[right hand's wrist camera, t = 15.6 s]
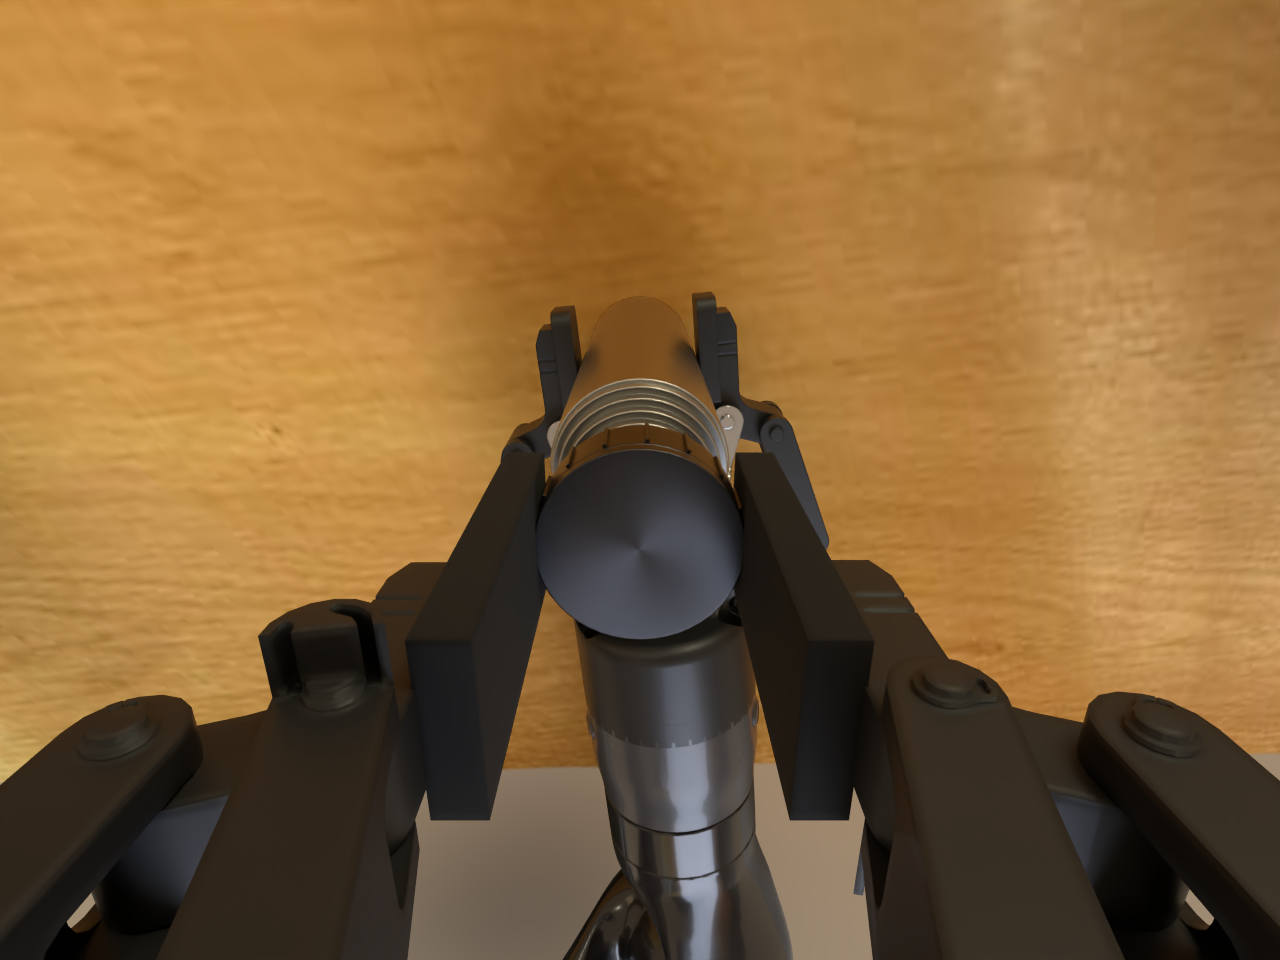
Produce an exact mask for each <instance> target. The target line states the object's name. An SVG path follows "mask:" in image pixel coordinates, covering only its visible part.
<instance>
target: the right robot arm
mask: <svg viewBox="0 0 1280 960" xmlns="http://www.w3.org/2000/svg"><path fill="white" fill-rule="evenodd" d="M545 485H546V482H545V463H544V453H506V454H505V456H504V458H503V460H502V462H501V464H500V465H499V467H498V469H497V471H496V473H495V475H494V476H493V478H492V480H491V482H490V484H489V486H488V488H487V489H486V491H485V493H484V495H483V497H482V499H481V501H480V502H479V504H478V506H477V508H476V510H475V512H474V513H473V515H472V517H471V519H470V521H469V523H468V525H467V526H466V528H465V530H464V532H463V534H462V536H461V538H460V539H459V541H458V543H457V545H456V547H455V549H454V550H453V552H452V554H451V556H450V558H449V560H448V562H411V563H410V564H408V565H407V566H405V567H404V568H402V569H401V570H399V571H398V572H396V573H395V574H393V575H392V576H390V577H389V578H388V579H387V580H386V582H385V583H384V585H383V586H382V588H381V589H380V591H379V592H378V594H377V595H376V600H373V601H372V602H371V603H369V602H365V601H361V600H357V599H332V600H327V601H321V602H316V603H311V604H308V605H305V606H302V607H300V608H297V609H294V610H292V611H289V612H287V613H285V614H284V615H282V616H280V617H279V618H277V619H276V620H274V621H272V622H271V623H269V624H268V626H267V627H266V628H265V629H264V630H263V631H262V632H261V633H260V635H259V636H258V638H259V642H260V646H261V651H262V655H263V659H264V663H265V668H266V672H267V676H268V680H269V685H270V689H271V693H272V697H273V698H272V700H271V702H270V705H269V707H268V709H267V710H265V711H261V712H258V713H254V714H250V715H247V716H242V717H237V718H232V719H227V720H223V721H218V722H213V723H208V724H203V725H198V726H197V724H196V721H195V718H194V714H193V711H192V707H191V706H190V705H188V704H187V703H186V702H185V701H184V700H183V699H182V698H177V697H172V696H166V695H156V696H145V697H137V698H132V699H127V700H126V701H120V702H117V703H114V704H111V705H108V706H106V707H105V708H103V709H101V710H99V711H96V712H94V713H92V714H90V715H88V716H86V717H84V718H82V719H81V720H79V721H78V722H76V723H75V724H73V725H72V726H70V727H69V728H68V729H66V730H65V731H63V732H62V733H60V734H59V735H58V736H57V737H56V738H55V739H53V740H52V741H51V742H50V743H49V744H48V745H46V746H45V747H44V748H43V749H42V750H41V751H39V752H38V753H37V754H36V755H35V756H34V757H32V758H31V759H30V760H29V761H28V762H27V763H26V764H24V765H23V766H22V767H21V768H20V769H19V770H17V771H16V772H15V773H14V774H13V775H12V776H10V777H9V778H8V779H7V780H6V781H5V782H3V783H2V784H1V785H0V960H407V957H408V948H409V939H410V930H411V921H412V913H413V903H414V894H415V886H416V877H417V868H418V858H419V850H420V849H419V842H418V835H417V828H416V822H415V818H416V815H417V812H418V810H419V807H420V804H421V801H422V799H423V796H424V793H425V791H427V798H428V805H429V812H430V819H431V820H490V817H491V813H492V808H493V804H494V800H495V796H496V792H497V788H498V784H499V780H500V776H501V772H502V768H503V763H504V759H505V755H506V751H507V747H508V743H509V739H510V735H511V731H512V727H513V722H514V718H515V714H516V710H517V706H518V702H519V698H520V694H521V690H522V686H523V681H524V677H525V673H526V669H527V665H528V661H529V657H530V653H531V649H532V645H533V641H534V636H535V632H536V628H537V624H538V620H539V616H540V612H541V608H542V604H543V600H544V595H545V591H546V587H545V586H544V584H543V582H542V580H541V577H540V575H539V573H538V564H537V548H536V530H535V525H536V521H537V518H538V515H539V512H540V509H541V506H542V503H543V500H544V499H541V497H542V494H543V491H544V488H545ZM734 488H736V491H737V494H738V497H739V500H740V503H741V506H742V512H740V513H741V516H742V520H743V523H744V540H743V557H742V571H741V574H740V576H739V579H738V581H737V583H736V585H735V587H734V588H733V589H734V593H735V597H736V601H737V605H738V610H739V614H740V618H741V622H742V626H743V630H744V634H745V638H746V642H747V646H748V651H749V655H750V659H751V663H752V667H753V671H754V675H755V679H756V683H757V687H758V692H759V696H760V700H761V704H762V708H763V712H764V716H765V720H766V724H767V728H768V733H769V737H770V741H771V745H772V749H773V753H774V757H775V761H776V765H777V769H778V774H779V778H780V782H781V786H782V790H783V794H784V798H785V802H786V806H787V810H788V814H789V818H790V820H849V815H850V809H851V802H852V795H853V788H855V791H856V794H857V797H858V799H859V802H860V805H861V808H862V810H863V813H864V816H865V822H864V829H863V835H862V842H861V848H860V854H859V861H858V867H857V873H856V880H855V887H854V894H857V895H863V892H864V886H865V893H866V902H867V911H868V920H869V929H870V938H871V946H872V956H873V960H1280V781H1279V780H1278V779H1277V778H1276V777H1275V776H1273V775H1272V774H1271V773H1270V772H1269V771H1267V770H1266V769H1265V768H1264V767H1263V766H1262V765H1261V764H1259V763H1258V762H1257V761H1256V760H1255V759H1253V758H1252V757H1251V756H1250V755H1249V754H1248V753H1246V752H1245V751H1244V750H1243V749H1242V748H1241V747H1239V746H1238V745H1237V744H1236V743H1235V742H1234V741H1232V740H1231V739H1230V738H1229V737H1228V736H1227V735H1225V734H1224V733H1223V732H1222V731H1221V730H1219V729H1218V728H1216V727H1215V726H1214V725H1212V724H1211V723H1209V722H1208V721H1206V720H1205V719H1203V718H1202V717H1200V716H1199V715H1197V714H1196V713H1193V712H1191V711H1189V710H1187V709H1185V708H1183V707H1180V706H1178V705H1176V704H1175V703H1173V702H1171V701H1168V700H1164V699H1161V698H1155V696H1150V695H1145V694H1138V693H1127V692H1113V693H1108V694H1102V695H1099V696H1097V697H1096V698H1095V699H1094V700H1093V701H1092V702H1091V703H1089V705H1088V709H1087V712H1086V715H1085V719H1084V722H1083V723H1082V722H1077V721H1072V720H1067V719H1063V718H1058V717H1053V716H1048V715H1043V714H1038V713H1033V712H1030V711H1026V710H1022V709H1018V708H1015V707H1012V706H1011V703H1010V701H1009V699H1008V697H1007V695H1006V694H1005V693H1004V691H1003V690H1002V689H1001V687H1000V686H999V685H998V683H997V682H995V681H994V680H993V679H991V678H990V677H988V676H987V675H986V674H984V673H983V672H981V671H980V670H978V669H976V668H973V667H971V666H969V665H966V664H964V663H962V662H959V661H956V660H952V659H948V657H947V656H946V654H945V653H944V651H943V650H942V649H941V647H940V646H939V644H938V643H937V641H936V640H935V638H934V637H933V635H932V634H931V632H930V631H929V629H928V628H927V627H926V625H925V624H924V622H923V621H922V619H921V618H920V616H919V615H918V613H915V611H914V607H913V606H912V605H911V603H910V602H909V600H908V599H907V597H904V593H903V591H902V590H901V588H900V587H899V585H898V584H897V583H896V581H895V580H894V578H893V577H892V575H890V574H889V573H887V572H886V571H884V570H883V569H881V568H880V567H878V566H877V565H875V564H874V563H872V562H871V561H869V560H831V559H830V557H829V555H828V553H827V551H826V550H825V548H824V546H823V544H822V542H821V540H820V538H819V537H818V535H817V533H816V531H815V529H814V527H813V525H812V524H811V522H810V520H809V518H808V516H807V514H806V513H805V511H804V509H803V507H802V505H801V503H800V501H799V500H798V498H797V496H796V494H795V492H794V490H793V488H792V487H791V485H790V483H789V481H788V479H787V477H786V475H785V474H784V472H783V470H782V468H781V466H780V464H779V463H778V461H777V459H776V457H775V455H774V453H736V455H735V473H734ZM1189 889H1190V890H1191V891H1192V892H1193V893H1194V895H1195V896H1196V897H1197V898H1198V899H1199V900H1200V902H1201V903H1202V904H1203V905H1204V906H1205V908H1206V909H1207V910H1208V911H1209V912H1210V913H1211V915H1212V916H1213V917H1214V920H1213V923H1212V924H1211V925H1208V924H1206V923H1205V922H1204V921H1203V920H1202V919H1201V918H1200V917H1199V916H1198V915H1197V914H1196V913H1195V912H1194V911H1193V909H1192V908H1191V907H1190V906H1189V905H1188V903H1187V902H1186V901H1185V899H1186V897H1187V894H1188V892H1189ZM90 893H92V896H93V898H94V901H95V904H94V906H93V907H92V908H91V909H90V911H89V912H88V913H87V914H86V915H85V917H84V918H82V919H81V920H80V921H79V922H78V923H77V924H76V925H74V926H73V927H72V928H70V927H69V926H68V924H67V920H68V919H69V918H70V917H71V916H72V915H73V913H74V912H75V911H76V910H77V909H78V907H79V906H80V905H81V904H82V903H83V902H84V900H85V899H86V898H87V897H88V896H89V894H90Z"/></svg>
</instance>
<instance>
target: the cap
mask: <svg viewBox="0 0 1280 960" xmlns="http://www.w3.org/2000/svg"><path fill="white" fill-rule="evenodd" d="M541 499H544V500H543V503H542V506H541V509H540V512H539V515H538V518H537V521H536V525H535V530H536V548H537V564H538V573H539V575H540V577H541V580H542V582H543V584H544V586H545V587H546V589H547V591H548V592H549V594H550V595H551V597H552V598H553V599H554V600H555V602H556V603H557V604H558V605H559V606H560V607H561V608H562V609H563V610H564V611H565V612H566V613H567V614H568V615H570V616H571V617H573V618H574V619H575V620H577V621H578V622H580V623H582V624H583V625H585V626H587V627H589V628H591V629H593V630H596V631H598V632H600V633H604V634H607V635H611V636H614V637H620V638H626V639H653V638H659V637H665V636H669V635H673V634H676V633H679V632H682V631H684V630H686V629H689V628H691V627H693V626H694V625H696V624H698V623H700V622H702V621H703V620H704V619H706V618H707V617H708V616H710V615H711V614H712V613H713V612H714V611H716V610H717V609H718V608H719V607H720V606H721V605H722V604H723V602H724V601H725V600H726V599H727V597H728V596H729V595H730V593H731V592H732V590H733V588H734V587H735V585H736V583H737V581H738V579H739V576H740V574H741V571H742V557H743V540H744V523H743V520H742V516H741V513H740V512H742V506H741V503H740V500H739V497H738V494H737V491H736V488H732V486H731V483H730V481H729V479H728V477H727V475H726V472H725V471H724V469H723V468H722V466H721V464H720V460H719V458H718V457H717V455H716V456H715V457H714V456H713V455H712V454H711V453H710V452H709V451H708V450H706V449H705V448H704V447H703V446H702V445H700V444H699V443H697V442H696V441H694V440H693V439H691V438H689V436H688V434H687V433H685V432H684V434H681V433H679V432H676V431H673V430H670V429H667V428H662V427H657V426H649V423H645V425H631V426H623V427H617V428H613V429H610V430H609V428H605V429H604V432H601V433H599V434H597V435H594V436H592V437H590V438H588V439H587V440H585V441H584V442H582V443H581V444H579V445H578V446H577V447H576V448H575V447H574V446H572V447H571V448H570V451H569V454H568V455H567V456H566V457H565V458H564V459H563V460H562V462H561V463H560V464H559V466H558V467H557V469H556V470H555V472H554V474H553V476H550V475H549V477H548V479H547V482H546V485H545V488H544V491H543V494H542V497H541Z"/></svg>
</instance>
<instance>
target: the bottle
mask: <svg viewBox="0 0 1280 960" xmlns="http://www.w3.org/2000/svg"><path fill="white" fill-rule="evenodd" d="M645 423H649V426H657V427H662V428H667V429H670V430H673V431H676V432H679V433H681V434H684V432H685V433H687V434H688V436H689V438H691V439H693V440H694V441H696V442H697V443H699V444H700V445H702V446H703V447H704V448H705V449H706V450H708V451H709V452H710V453H711V454H712V455H713V456H714V457H715V456H716V455H717V457H718V458H719V460H720V464H721V466H722V468H723V469H724V471H725V472H726V475H727V477H728V473H729V451H728V445H727V441H726V438H725V434H724V432H723V429H722V426H721V423H720V421H719V418H718V415H717V413H716V410H715V407H714V405H713V402H712V399H711V396H710V394H709V391H708V388H707V386H706V383H705V380H704V378H703V375H702V372H701V369H700V367H699V364H698V361H697V359H696V356H695V353H694V351H693V348H692V345H691V342H690V340H689V337H688V334H687V332H686V329H685V327H684V324H683V322H682V320H681V319H680V317H679V316H678V315H677V313H676V312H675V311H674V310H673V309H672V308H671V307H669V306H668V305H666V304H665V303H663V302H661V301H659V300H656V299H654V298H649V297H631V298H626V299H624V300H621V301H619V302H617V303H615V304H614V305H612V306H611V307H609V308H608V309H607V310H606V311H605V312H604V313H603V315H602V316H601V317H600V319H599V320H598V322H597V324H596V326H595V329H594V332H593V334H592V337H591V340H590V342H589V345H588V348H587V350H586V353H585V356H584V359H583V361H582V364H581V367H580V369H579V372H578V375H577V377H576V380H575V383H574V385H573V388H572V391H571V393H570V396H569V399H568V401H567V404H566V407H565V409H564V412H563V415H562V418H561V420H560V423H559V426H558V428H557V431H556V434H555V437H554V440H553V443H552V449H551V461H550V466H551V475H552V476H553V474H554V472H555V470H556V469H557V467H558V466H559V464H560V463H561V462H562V460H563V459H564V458H565V457H566V456H567V455H568V454H569V451H570V448H571V447H572V446H574V447H575V448H576V447H577V446H578V445H579V444H581V443H582V442H584V441H585V440H587V439H588V438H590V437H592V436H594V435H597V434H599V433H601V432H604V429H605V428H609V430H610V429H613V428H617V427H623V426H631V425H645Z"/></svg>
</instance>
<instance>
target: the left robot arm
mask: <svg viewBox="0 0 1280 960" xmlns="http://www.w3.org/2000/svg"><path fill="white" fill-rule="evenodd" d="M692 304H693V320H694V336H695V351H696V359H697V361H698V364H699V367H700V369H701V372H702V375H703V378H704V380H705V383H706V386H707V388H708V391H709V394H710V396H711V399H712V402H713V405H714V407H715V410H716V413H717V415H718V418H719V421H720V423H721V426H722V429H723V432H724V434H725V438H726V441H727V445H728V451H729V473H728V479H729V481H730V479H731V468H732V463H733V459H734V456H735V452H736V449H737V445H738V442H739V438H742V439H746V440H750V441H754V442H758V443H759V444H760V447H761V450H762V453H774V455H775V457H776V459H777V461H778V463H779V464H780V466H781V468H782V470H783V472H784V474H785V475H786V477H787V479H788V481H789V483H790V485H791V487H792V488H793V490H794V492H795V494H796V496H797V498H798V500H799V501H800V503H801V505H802V507H803V509H804V511H805V513H806V514H807V516H808V518H809V520H810V522H811V524H812V525H813V527H814V529H815V531H816V533H817V535H818V537H819V538H820V540H821V542H822V544H823V546H824V548H825V550H826V549H827V547H828V545H829V537H828V534H827V531H826V528H825V525H824V522H823V519H822V516H821V513H820V510H819V507H818V504H817V501H816V498H815V495H814V492H813V489H812V486H811V483H810V480H809V477H808V474H807V471H806V468H805V465H804V462H803V459H802V456H801V453H800V450H799V447H798V444H797V441H796V438H795V435H794V431H793V428H792V426H791V424H790V423H789V422H788V420H787V419H786V418H785V417H784V416H783V414H782V412H781V410H780V408H779V407H778V406H777V405H776V404H775V403H774V402H771V401H762V402H757V401H754V400H750V399H747V398H744V397H743V396H741V395H740V394H739V376H738V355H737V353H738V352H737V328H736V324H735V322H734V320H733V318H732V315H731V313H730V312H729V310H728V309H727V308H726V307H720V308H716V299H715V296H714V294H713V293H712V292H703V293H693V294H692ZM536 351H537V358H538V365H539V372H540V378H541V385H542V392H543V398H544V405H545V415H544V416H542V417H541V418H539V419H537V420H535V421H533V422H531V423H524V424H521V425H519V426H517V427H516V428H515V430H514V432H513V433H512V435H511V437H510V439H509V441H508V442H507V444H506V446H505V448H504V449H503V452H502V456H501V462H502V460H503V458H504V456H505V454H506V453H544V459H546V458H548V457H550V456H551V449H552V443H553V440H554V437H555V434H556V431H557V428H558V426H559V423H560V420H561V418H562V415H563V412H564V409H565V407H566V404H567V401H568V399H569V396H570V393H571V391H572V388H573V385H574V383H575V380H576V377H577V375H578V372H579V369H580V367H581V364H582V358H581V350H580V343H579V335H578V327H577V319H576V312H575V307H574V305H573V306H563V307H555V308H554V309H553V310H552V312H551V324H546V325H544V326H543V327H542V328H541V329H540V331H539V334H538V338H537V342H536ZM574 622H575V629H576V636H577V642H578V649H579V656H580V662H581V669H582V676H583V683H584V690H585V696H586V703H587V715H586V721H587V726H588V731H589V734H591V737H592V743H593V748H594V752H595V757H596V760H597V763H598V767H599V769H600V772H601V775H602V778H603V781H604V786H605V794H606V801H607V808H608V815H609V821H610V828H611V834H612V840H613V845H614V849H615V853H616V856H617V859H618V862H619V864H620V867H621V870H620V871H619V872H618V873H617V874H616V876H615V877H614V878H613V879H612V881H611V882H610V884H609V885H608V887H607V888H606V890H605V891H604V893H603V894H602V896H601V898H600V899H599V901H598V903H597V904H596V906H595V908H594V909H593V911H592V913H591V914H590V916H589V918H588V919H587V921H586V923H585V924H584V926H583V928H582V929H581V931H580V933H579V934H578V936H577V937H576V939H575V941H574V942H573V944H572V945H571V947H570V948H569V950H568V952H567V953H566V955H565V956H564V958H563V960H793V952H792V945H791V940H790V935H789V931H788V927H787V923H786V919H785V916H784V913H783V910H782V907H781V904H780V901H779V898H778V894H777V891H776V888H775V885H774V882H773V879H772V876H771V873H770V870H769V867H768V864H767V862H766V859H765V857H764V855H763V853H762V850H761V848H760V845H759V843H758V840H757V837H756V834H755V800H754V776H753V770H754V769H753V768H754V760H755V753H756V743H757V724H758V717H759V702H758V700H757V697H756V690H755V675H754V671H753V667H752V663H751V659H750V655H749V651H748V646H747V642H746V638H745V634H744V630H743V626H742V622H741V618H740V614H739V610H738V605H737V601H736V597H735V593H734V589H733V590H732V592H731V593H730V595H729V596H728V597H727V599H726V600H725V601H724V602H723V604H722V605H721V606H720V607H719V608H718V609H717V610H716V611H714V612H713V613H712V614H711V615H710V616H708V617H707V618H706V619H704V620H703V621H702V622H700V623H698V624H696V625H694V626H693V627H691V628H689V629H686V630H684V631H682V632H679V633H676V634H673V635H669V636H665V637H659V638H653V639H626V638H620V637H614V636H611V635H607V634H604V633H600V632H598V631H596V630H593V629H591V628H589V627H587V626H585V625H583V624H582V623H580V622H578V621H577V620H575V619H574Z"/></svg>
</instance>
